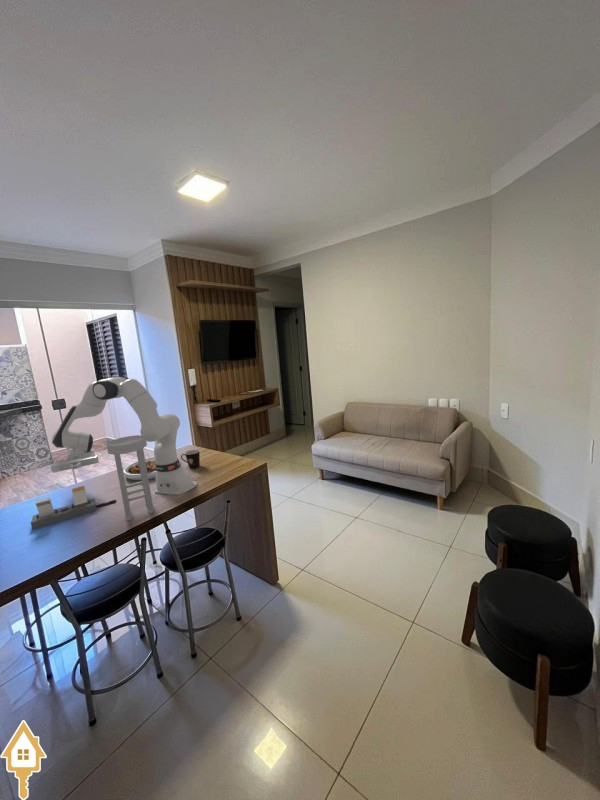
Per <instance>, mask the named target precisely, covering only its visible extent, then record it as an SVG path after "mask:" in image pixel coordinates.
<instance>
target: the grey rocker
mask: <svg viewBox="0 0 600 800" xmlns="http://www.w3.org/2000/svg"><path fill="white" fill-rule="evenodd" d="M35 506H36V508H37V511H38V514H39V515H40V516H44V515H47V514H51V513H54V506H53V503H52V500H51V497H50V496H49V497H45V498H42V499H37V500H35Z"/></svg>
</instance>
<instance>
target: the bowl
mask: <svg viewBox="0 0 600 800" xmlns="http://www.w3.org/2000/svg"><path fill="white" fill-rule="evenodd" d="M145 462H146V468H147V474H148V480H152V479H156V474H157V471H156V468H155V463H156V462H155V456H153V457H147V458H145ZM123 473H124V477H126V478H127V479H129V480H132V481H142V480H141V474H140V469H139V463H138V460H137V461H134V462H133V463H130V464H129V465H127V466H125V468H123Z"/></svg>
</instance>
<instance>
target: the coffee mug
mask: <svg viewBox="0 0 600 800" xmlns="http://www.w3.org/2000/svg"><path fill="white" fill-rule="evenodd" d="M183 456H185V457H186V460H185V459H184V458H183ZM200 457H201V456H200V449H191V450H188V451H186V452H184V453H182V454H181V455H180V458H181V460H183V462H185V463H187V465H188V469H190V470H196V469H198V468H200V464H201V462H200V461H201V460H200Z"/></svg>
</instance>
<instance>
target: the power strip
mask: <svg viewBox="0 0 600 800" xmlns="http://www.w3.org/2000/svg"><path fill="white" fill-rule="evenodd" d="M113 503H117V500H116V499H113V500H110V501H109V500H108V501H106V502H103V503H98V504H97V502H96V498H95V497H93V498H89V499H87V502H85V503H82V504H78V505H75V504H74V503H72V504H70V505H65V506H62V507H58V508H55V509H54V508H53V509H54V513H51V514H47V515H44V516H40V515H39V513H37V514H33V516H32V519H31V521H30V525H31V530H32V531H34V530H38V529H41V528H44V527H47V526H51V525H55V524H57V523H61V522H63V521H66V520H67V521H68V520H71V519H74V518H77V517H80V516H85V515H87V514H90V513H94V512H97V508H100V507H103V506H107V505H110V504H113Z"/></svg>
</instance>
